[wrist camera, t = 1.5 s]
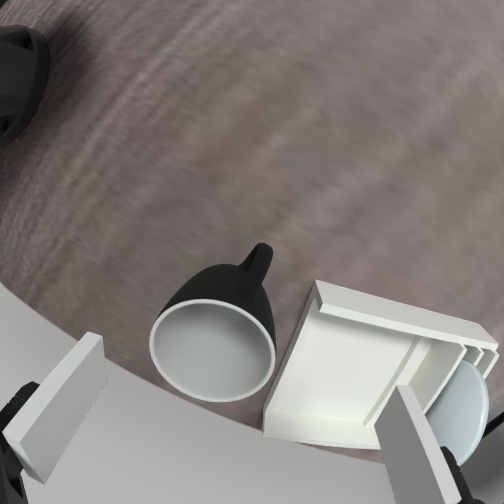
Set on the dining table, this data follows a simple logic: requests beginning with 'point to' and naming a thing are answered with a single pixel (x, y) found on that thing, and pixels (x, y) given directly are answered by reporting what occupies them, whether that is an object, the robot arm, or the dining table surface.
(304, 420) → the dish rack
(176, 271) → the dining table surface
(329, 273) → the dining table surface
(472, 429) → the plate in rack
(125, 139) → the dining table surface
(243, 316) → the mug
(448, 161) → the dining table surface
